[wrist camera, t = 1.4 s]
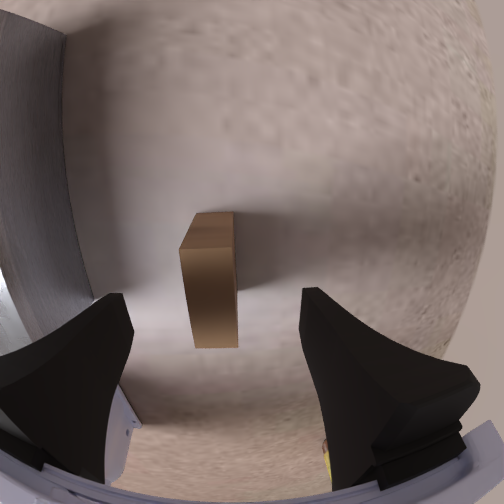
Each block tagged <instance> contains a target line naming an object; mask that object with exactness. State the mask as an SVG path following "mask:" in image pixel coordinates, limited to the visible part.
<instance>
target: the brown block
mask: <svg viewBox="0 0 504 504" xmlns="http://www.w3.org/2000/svg"><path fill="white" fill-rule="evenodd" d="M179 255H180V262H181V269H182V276H183V282H184V288H185V294H186V300H187V306H188V312H189V317H190V323H191V328H192V333H193V338H194V343H195V348H238V311H237V279H236V260H235V240H234V218H233V212H212V213H196V215H195V217H194V219H193V221H192V223H191V225H190V227H189V229H188V231H187V233H186V235H185V238H184V240H183V242H182V244H181V246H180V248H179Z"/></svg>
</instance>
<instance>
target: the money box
mask: <svg viewBox="0 0 504 504" xmlns="http://www.w3.org/2000/svg"><path fill="white" fill-rule="evenodd" d="M66 36H67V35H66V34H63V33H61V32H59V31H57V30H54V29H52V28H50V27H47V26H45V25H43V24H40V23H38V22H35V21H33V20H30V19H27V18H25V17H22V16H19V15H16V14H13V13H10V12H7V11H4V10H1V9H0V356H2V355H5V354H8V353H11V352H13V351H16V350H18V349H20V348H23V347H25V346H27V345H29V344H31V343H33V342H35V341H37V340H39V339H41V338H43V337H45V336H46V335H48V334H50V333H51V332H53V331H55V330H56V329H58V328H59V327H61V326H62V325H64V324H65V323H67V322H68V321H70V320H71V319H72V318H74V317H75V316H77V315H78V314H80V313H81V312H82V311H84V310H85V309H86V308H88V307H89V306H90V305H91V304H92V302H93V301H94V297H93V294H92V291H91V288H90V285H89V281H88V278H87V275H86V271H85V268H84V264H83V260H82V257H81V253H80V249H79V245H78V240H77V236H76V231H75V227H74V222H73V217H72V211H71V206H70V200H69V194H68V187H67V180H66V172H65V163H64V152H63V137H62V75H63V62H64V51H65V43H66Z"/></svg>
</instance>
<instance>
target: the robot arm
mask: <svg viewBox="0 0 504 504" xmlns="http://www.w3.org/2000/svg"><path fill="white" fill-rule="evenodd" d="M299 333H300V338H301V344H302V348H303V352H304V355H305V358H306V361H307V364H308V367H309V370H310V373H311V376H312V379H313V382H314V385H315V388H316V391H317V394H318V398H319V401H320V406H321V411H322V416H323V421H324V426H325V432H326V438H327V445H328V452H329V460H330V469H331V480H332V492H329V493H324V494H318V495H313V496H307V497H300V498H293V499H285V500H275V501H263V502H238V503H225V502H200V501H188V500H178V499H170V498H163V497H157V496H151V495H145V494H140V493H135V492H131V491H126V490H122V489H118V488H114V487H111V486H110V485H111V483H112V482H114V481H116V480H117V479H118V478H119V477H120V476H121V474H122V473H123V471H124V467H125V463H126V458H127V454H128V449H129V445H130V440H131V436H132V432H133V428H138V429H140V428H142V424H141V422H140V421H139V419H138V418H137V416H136V414H135V413H134V411H133V409H132V408H131V406H130V404H129V403H128V401H127V399H126V397H125V396H124V394H123V392H122V390H121V388H120V386H119V385H118V383H119V380H120V377H121V375H122V372H123V369H124V367H125V364H126V361H127V359H128V356H129V353H130V350H131V346H132V341H133V337H134V329H133V326H132V323H131V320H130V317H129V314H128V310H127V307H126V304H125V300H124V297H123V293H109V294H107V295H106V296H104V297H102V298H101V299H99V300H98V301H96V302H95V303H94V304H92V305H91V306H89V307H88V308H86V309H85V310H84V311H82V312H81V313H80V314H78V315H77V316H75V317H74V318H72V319H71V320H70V321H68V322H67V323H65V324H64V325H62V326H61V327H59V328H58V329H56V330H55V331H53V332H51V333H50V334H48V335H46V336H45V337H43V338H41V339H39V340H37V341H35V342H33V343H31V344H29V345H27V346H25V347H23V348H20V349H18V350H16V351H13V352H11V353H8V354H5V355H2V356H0V504H474V503H475V502H477V501H478V500H479V499H481V498H482V497H483V496H484V495H485V494H487V493H488V492H489V491H490V490H492V489H493V488H494V487H495V486H496V485H497V484H499V483H500V482H501V481H502V480H503V479H504V443H503V441H502V439H501V437H500V435H499V434H498V432H497V430H496V428H495V427H494V425H493V423H492V422H491V420H488V421H486V422H485V423H483V424H482V425H480V426H478V427H477V428H475V429H473V430H472V431H470V432H469V433H467V434H466V435H465V436H463V437H461V435H460V433H459V431H460V430H461V429H462V425H461V423H460V421H459V419H460V418H461V417H462V416H463V414H464V413H465V412H466V411H467V410H468V408H469V407H470V406H471V404H472V403H473V402H474V400H475V399H476V397H477V395H478V393H479V391H480V383H479V382H478V380H477V379H476V377H475V376H474V375H473V373H472V372H471V370H470V369H469V368H468V366H466V365H462V364H457V363H453V362H448V361H444V360H440V359H437V358H434V357H431V356H428V355H425V354H422V353H420V352H417V351H414V350H412V349H410V348H408V347H405V346H403V345H401V344H399V343H397V342H395V341H393V340H391V339H389V338H387V337H385V336H384V335H382V334H380V333H378V332H377V331H375V330H373V329H372V328H370V327H369V326H367V325H366V324H364V323H363V322H361V321H360V320H359V319H357V318H356V317H354V316H353V315H352V314H350V313H349V312H348V311H347V310H345V309H344V308H343V307H342V306H340V305H339V304H338V303H337V302H335V301H334V300H333V299H332V298H331V297H329V296H328V295H327V294H326V293H325V292H323V291H322V290H321V289H320V288H318V287H311V288H302V300H301V311H300V321H299Z"/></svg>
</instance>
